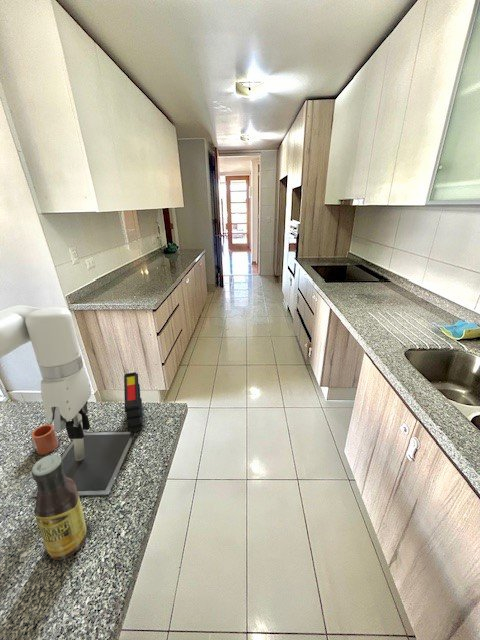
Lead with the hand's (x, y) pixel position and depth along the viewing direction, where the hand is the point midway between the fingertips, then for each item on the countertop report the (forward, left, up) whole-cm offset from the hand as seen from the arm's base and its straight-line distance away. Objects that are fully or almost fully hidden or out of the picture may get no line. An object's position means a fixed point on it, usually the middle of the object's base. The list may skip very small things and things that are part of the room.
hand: (79, 432), depth 61 cm
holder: (-12, +4, -9) cm, 16 cm away
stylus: (-2, 0, -8) cm, 9 cm away
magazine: (+8, +13, -9) cm, 18 cm away
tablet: (+1, 0, -9) cm, 9 cm away
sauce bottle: (+6, -18, -10) cm, 21 cm away
